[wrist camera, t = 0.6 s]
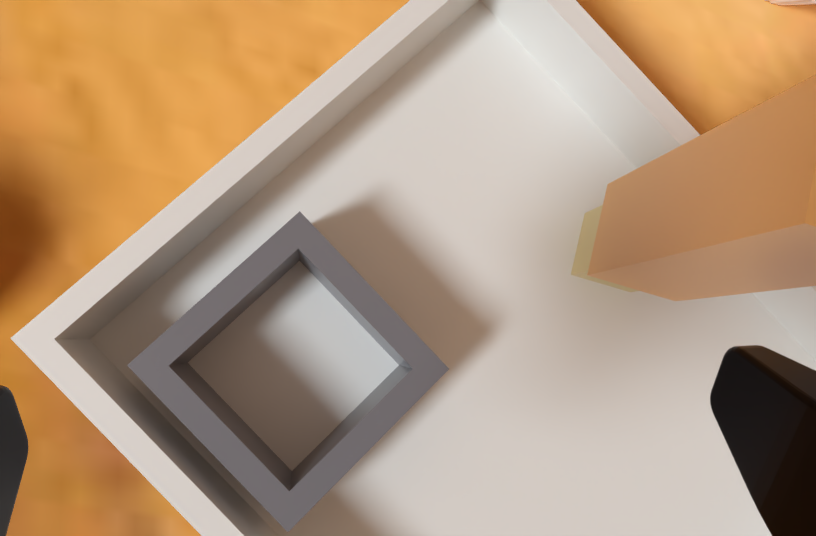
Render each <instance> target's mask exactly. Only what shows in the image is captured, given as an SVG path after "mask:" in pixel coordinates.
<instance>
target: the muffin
mask: <svg viewBox="0 0 816 536" xmlns="http://www.w3.org/2000/svg"><path fill="white" fill-rule="evenodd" d="M765 1H769V2H770V3H771V4H777V5H811V4H816V0H765Z"/></svg>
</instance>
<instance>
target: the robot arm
mask: <svg viewBox="0 0 816 536" xmlns="http://www.w3.org/2000/svg"><path fill="white" fill-rule="evenodd" d="M710 405H711V409H712V412H713V414H714V417H715V419H716V421H717V423H718V425H719V428H720V430H721V432H722V434H723V436H724V438H725V441H726V443H727V445H728V447H729V449H730V452H731V454H732V456H733V458H734V460H735V463H736V465H737V467H738V469H739V471H740V473H741V476H742V478H743V480H744V482H745V484H746V487H747V489H748V491H749V493H750V495H751V497H752V499H753V501H754V503H755V505H756V507H757V510H758V512H759V513H760V515H761V517H762V519H763V521H764V523H765V524H766V526H767V528H768V530H769V532H770V533H771V535H772V536H816V370H813V369H811V368H809V367H807V366H805V365H803V364H801V363H798V362H796V361H794V360H792V359H790V358H788V357H786V356H783V355H781V354H779V353H777V352H775V351H773V350H771V349H768V348H766V347H764V346H760V345H747V346H734V347H731V348H729V349H728V350H727V351H726V352H725V354H724V356H723V359H722V362H721V365H720V368H719V370H718V373H717V376H716V379H715V382H714V384H713V387H712V390H711V394H710ZM27 455H28V439H27V435H26V432H25V429H24V426H23V423H22V420H21V417H20V414H19V411H18V408H17V405H16V402H15V399H14V396H13V394H12V392H11V391H10V390H9V389H8V388H7V387H5V386H2V385H0V536H6V533H7V530H8V526H9V522H10V519H11V515H12V511H13V508H14V504H15V500H16V496H17V493H18V489H19V485H20V482H21V478H22V474H23V471H24V467H25V463H26V460H27Z"/></svg>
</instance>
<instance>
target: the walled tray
mask: <svg viewBox="0 0 816 536" xmlns="http://www.w3.org/2000/svg"><path fill="white" fill-rule="evenodd" d="M698 136H700V134H699V133H698V132H697V131H696V130H695V129H694V128H693V127H692V125H691V124H690V123H689V122H688V121H687V120H686V119H685V118H684V117H683V116H682V115H681V114H680V112H679V111H678V110H677V109H676V108H675V107H674V106H673V105H672V104H671V103H670V102H669V101H668V100H667V98H666V97H665V96H664V95H663V94H662V93H661V92H660V91H659V90H658V89H657V88H656V87H655V85H654V84H653V83H652V82H651V81H650V80H649V79H648V78H647V77H646V76H645V75H644V74H643V72H642V71H641V70H640V69H639V68H638V67H637V66H636V65H635V64H634V63H633V62H632V61H631V59H630V58H629V57H628V56H627V55H626V54H625V53H624V52H623V51H622V50H621V49H620V48H619V47H618V45H617V44H616V43H615V42H614V41H613V40H612V39H611V38H610V37H609V36H608V35H607V34H606V32H605V31H604V30H603V29H602V28H601V27H600V26H599V25H598V24H597V23H596V22H595V21H594V19H593V18H592V17H591V16H590V15H589V14H588V13H587V12H586V11H585V10H584V9H583V8H582V7H581V5H580V4H579V3H578V2H577V1H576V0H410V1H409V2H408V3H406V4H405V5H404V6H403V7H402V8H400V9H399V10H398V11H397V12H396V13H395V14H393V15H392V16H391V17H390V18H389V19H387V20H386V21H385V22H384V23H383V24H382V25H380V26H379V27H378V28H377V29H376V30H374V31H373V32H372V33H371V34H370V35H368V36H367V37H366V38H365V39H364V40H363V41H361V42H360V43H359V44H358V45H357V46H355V47H354V48H353V49H352V50H351V51H350V52H348V53H347V54H346V55H345V56H344V57H342V58H341V59H340V60H339V61H338V62H337V63H335V64H334V65H333V66H332V67H331V68H329V69H328V70H327V71H326V72H325V73H324V74H322V75H321V76H320V77H319V78H318V79H316V80H315V81H314V82H313V83H312V84H311V85H309V86H308V87H307V88H306V89H305V90H303V91H302V92H301V93H300V94H299V95H298V96H296V97H295V98H294V99H293V100H292V101H290V102H289V103H288V104H287V105H286V106H285V107H283V108H282V109H281V110H280V111H279V112H277V113H276V114H275V115H274V116H273V117H272V118H270V119H269V120H268V121H267V122H266V123H264V124H263V125H262V126H261V127H260V128H259V129H257V130H256V131H255V132H254V133H253V134H251V135H250V136H249V137H248V138H247V139H246V140H244V141H243V142H242V143H241V144H240V145H238V146H237V147H236V148H235V149H234V150H233V151H231V152H230V153H229V154H228V155H227V156H225V157H224V158H223V159H222V160H221V161H220V162H218V163H217V164H216V165H215V166H214V167H212V168H211V169H210V170H209V171H208V172H207V173H205V174H204V175H203V176H202V177H201V178H199V179H198V180H197V181H196V182H195V183H194V184H192V185H191V186H190V187H189V188H188V189H186V190H185V191H184V192H183V193H182V194H181V195H179V196H178V197H177V198H176V199H175V200H173V201H172V202H171V203H170V204H169V205H167V206H166V207H165V208H164V209H163V210H162V211H160V212H159V213H158V214H157V215H156V216H154V217H153V218H152V219H151V220H150V221H149V222H147V223H146V224H145V225H144V226H143V227H141V228H140V229H139V230H138V231H137V232H136V233H134V234H133V235H132V236H131V237H130V238H128V239H127V240H126V241H125V242H124V243H123V244H121V245H120V246H119V247H118V248H117V249H115V250H114V251H113V252H112V253H111V254H110V255H108V256H107V257H106V258H105V259H104V260H102V261H101V262H100V263H99V264H98V265H97V266H95V267H94V268H93V269H92V270H91V271H89V272H88V273H87V274H86V275H85V276H84V277H82V278H81V279H80V280H79V281H78V282H76V283H75V284H74V285H73V286H72V287H71V288H69V289H68V290H67V291H66V292H65V293H63V294H62V295H61V296H60V297H59V298H58V299H56V300H55V301H54V302H53V303H52V304H50V305H49V306H48V307H47V308H46V309H45V310H43V311H42V312H41V313H40V314H39V315H37V316H36V317H35V318H34V319H33V320H32V321H30V322H29V323H28V324H27V325H26V326H24V327H23V328H22V329H21V330H20V331H19V332H17V333H16V334H15V335H14V336H13V337H11V339H12V340H13V341H14V342H15V343H16V345H17V346H18V347H19V348H20V349H21V350H22V351H23V352H24V353H25V354H26V355H27V356H28V357H29V358H30V359H31V360H32V361H33V362H34V363H35V364H36V365H37V366H38V367H39V368H40V369H41V370H42V371H43V372H44V373H45V374H46V375H47V377H48V378H49V379H50V380H51V381H52V382H53V383H54V384H55V385H56V386H57V387H58V388H59V389H60V390H61V391H62V392H63V393H64V394H65V395H66V396H67V397H68V398H69V399H70V400H71V401H72V402H73V403H74V404H75V405H76V406H77V407H78V409H79V410H80V411H81V412H82V413H83V414H84V415H85V416H86V417H87V418H88V419H89V420H90V421H91V422H92V423H93V424H94V425H95V426H96V427H97V428H98V429H99V430H100V431H101V432H102V433H103V434H104V435H105V436H106V437H107V438H108V439H109V441H110V442H111V443H112V444H113V445H114V446H115V447H116V448H117V449H118V450H119V451H120V452H121V453H122V454H123V455H124V456H125V457H126V458H127V459H128V460H129V461H130V462H131V463H132V464H133V465H134V466H135V467H136V468H137V469H138V470H139V471H140V473H141V474H142V475H143V476H144V477H145V478H146V479H147V480H148V481H149V482H150V483H151V484H152V485H153V486H154V487H155V488H156V489H157V490H158V491H159V492H160V493H161V494H162V495H163V496H164V497H165V498H166V499H167V500H168V501H169V502H170V503H171V505H172V506H173V507H174V508H175V509H176V510H177V511H178V512H179V513H180V514H181V515H182V516H183V517H184V518H185V519H186V520H187V521H188V522H189V523H190V524H191V525H192V526H193V527H194V528H195V529H196V530H197V531H198V532H199V533H200V534H201V535H202V536H772V535H771V533H770V532H769V530H768V528H767V526H766V524H765V523H764V521H763V519H762V517H761V515H760V513H759V512H758V510H757V507H756V505H755V503H754V501H753V499H752V497H751V495H750V493H749V491H748V489H747V487H746V484H745V482H744V480H743V478H742V476H741V473H740V471H739V469H738V467H737V465H736V463H735V460H734V458H733V456H732V454H731V452H730V449H729V447H728V445H727V443H726V441H725V438H724V436H723V434H722V432H721V430H720V428H719V425H718V423H717V421H716V419H715V417H714V414H713V412H712V409H711V405H710V394H711V390H712V387H713V384H714V382H715V379H716V376H717V373H718V370H719V368H720V365H721V362H722V359H723V356H724V354H725V352H726V351H727V350H728V349H729V348H731V347H734V346H747V345H760V346H764V347H766V348H768V349H771V350H773V351H775V352H777V353H779V354H781V355H783V356H786V357H788V358H790V359H792V360H794V361H796V362H798V363H801V364H803V365H805V366H807V367H809V368H811V369H813V370H816V286H809V287H800V288H791V289H782V290H773V291H764V292H755V293H746V294H737V295H728V296H719V297H710V298H701V299H692V300H683V301H673V300H669V299H666V298H662V297H659V296H656V295H652V294H649V293H645V292H642V291H635V292H628V291H624V290H621V289H618V288H614V287H611V286H607V285H604V284H601V283H597V282H594V281H590V280H587V279H584V278H580V277H577V276H573V275H571V271H572V267H573V262H574V258H575V254H576V249H577V245H578V241H579V236H580V232H581V227H582V223H583V219H584V214H585V213H586V212H588V211H591V210H593V209H595V208H597V207H599V206H601V205H603V202H604V198H605V193H606V189H607V184H609V183H611V182H613V181H614V180H616V179H618V178H620V177H622V176H624V175H626V174H628V173H630V172H632V171H633V170H635V169H637V168H639V167H641V166H643V165H645V164H647V163H649V162H651V161H652V160H654V159H656V158H658V157H660V156H662V155H664V154H666V153H668V152H670V151H671V150H673V149H675V148H677V147H679V146H681V145H683V144H685V143H687V142H689V141H690V140H692V139H694V138H696V137H698Z"/></svg>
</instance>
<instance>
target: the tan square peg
mask: <svg viewBox="0 0 816 536" xmlns="http://www.w3.org/2000/svg"><path fill="white" fill-rule="evenodd" d="M571 275H573V276H577V277H580V278H584V279H587V280H590V281H594V282H597V283H601V284H604V285H607V286H611V287H614V288H618V289H621V290H624V291H628V292H635V291H642V292H645V293H649V294H652V295H656V296H659V297H662V298H666V299H669V300H673V301H683V300H692V299H701V298H710V297H719V296H728V295H737V294H746V293H755V292H764V291H773V290H782V289H791V288H800V287H809V286H816V75H814V76H812V77H810V78H808V79H806V80H804V81H803V82H801V83H799V84H797V85H795V86H793V87H791V88H789V89H787V90H785V91H784V92H782V93H780V94H778V95H776V96H774V97H772V98H770V99H768V100H766V101H765V102H763V103H761V104H759V105H757V106H755V107H753V108H751V109H749V110H747V111H746V112H744V113H742V114H740V115H738V116H736V117H734V118H732V119H730V120H728V121H727V122H725V123H723V124H721V125H719V126H717V127H715V128H713V129H711V130H709V131H708V132H706V133H704V134H702V135H700V136H698V137H696V138H694V139H692V140H690V141H689V142H687V143H685V144H683V145H681V146H679V147H677V148H675V149H673V150H671V151H670V152H668V153H666V154H664V155H662V156H660V157H658V158H656V159H654V160H652V161H651V162H649V163H647V164H645V165H643V166H641V167H639V168H637V169H635V170H633V171H632V172H630V173H628V174H626V175H624V176H622V177H620V178H618V179H616V180H614V181H613V182H611V183H609V184H607V189H606V193H605V198H604V202H603V205H601V206H599V207H597V208H595V209H593V210H591V211H588V212H586V213H585V214H584V219H583V223H582V227H581V232H580V236H579V241H578V245H577V249H576V254H575V258H574V262H573V267H572V271H571Z"/></svg>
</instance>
